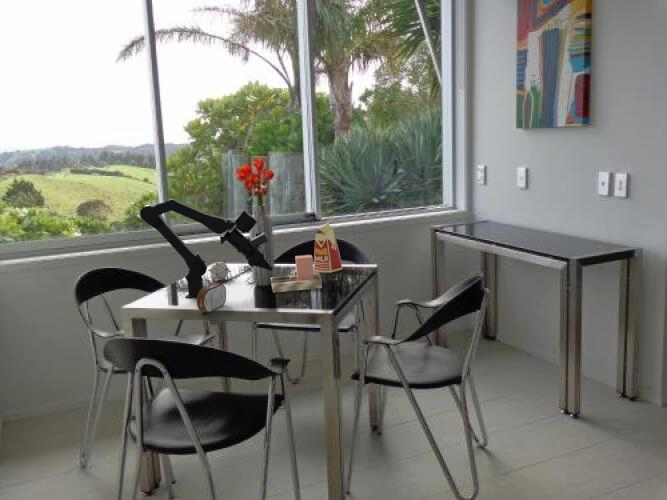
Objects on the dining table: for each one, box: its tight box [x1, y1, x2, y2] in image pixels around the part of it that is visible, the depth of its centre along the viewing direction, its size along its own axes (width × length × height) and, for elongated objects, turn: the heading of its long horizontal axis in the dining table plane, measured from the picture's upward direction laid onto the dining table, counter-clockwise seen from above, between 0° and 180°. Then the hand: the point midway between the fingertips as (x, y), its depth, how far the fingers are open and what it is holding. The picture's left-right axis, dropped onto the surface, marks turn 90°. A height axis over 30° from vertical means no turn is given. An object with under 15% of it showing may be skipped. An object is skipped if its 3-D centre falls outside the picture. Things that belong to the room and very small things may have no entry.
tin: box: [196, 282, 227, 314], centre depth 223 cm, size 15×3×8 cm, turn 159°
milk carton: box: [313, 221, 343, 273], centre depth 275 cm, size 9×9×20 cm
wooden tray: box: [270, 271, 323, 294], centre depth 250 cm, size 18×13×4 cm
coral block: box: [294, 254, 315, 281], centre depth 249 cm, size 6×5×10 cm
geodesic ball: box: [207, 259, 232, 282], centre depth 270 cm, size 9×8×10 cm
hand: (272, 269), depth 248 cm, fingers closed
